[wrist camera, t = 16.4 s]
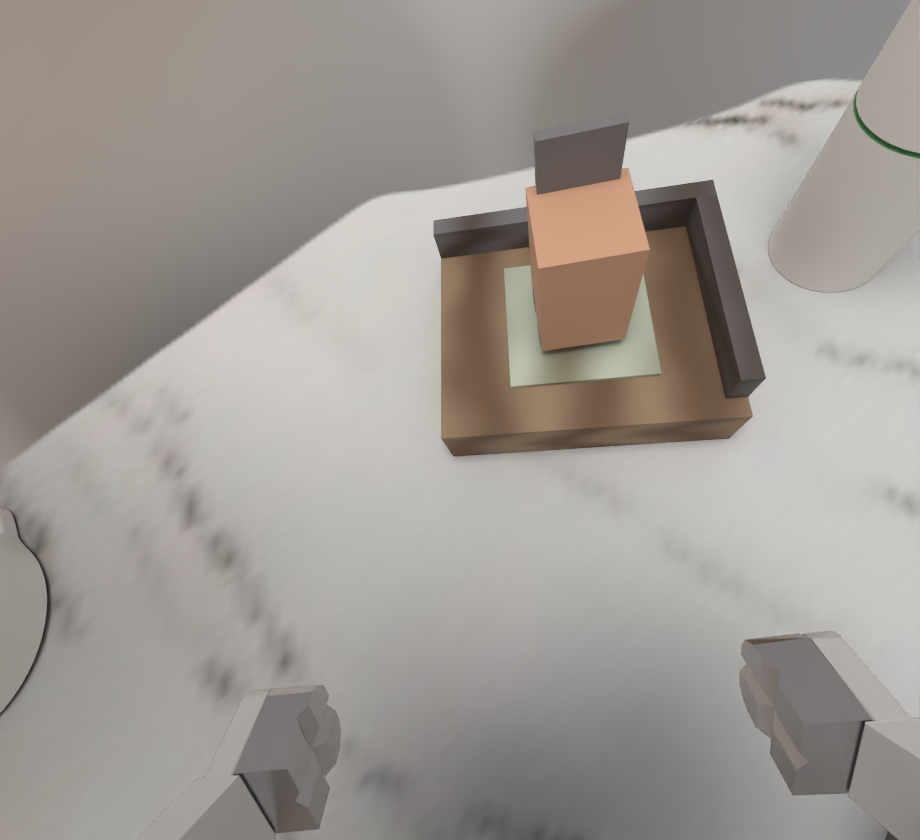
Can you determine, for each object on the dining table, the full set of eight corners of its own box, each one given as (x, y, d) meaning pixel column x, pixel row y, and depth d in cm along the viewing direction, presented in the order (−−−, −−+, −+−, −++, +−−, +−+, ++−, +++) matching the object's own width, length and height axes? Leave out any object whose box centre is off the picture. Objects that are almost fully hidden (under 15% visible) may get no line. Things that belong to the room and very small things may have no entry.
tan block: (542, 357, 30) (536, 221, 20) (532, 291, 32) (522, 134, 21) (623, 345, 30) (664, 198, 19) (608, 279, 32) (638, 109, 21)
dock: (453, 456, 34) (432, 424, 28) (451, 278, 39) (433, 220, 33) (728, 438, 31) (771, 399, 25) (686, 249, 36) (712, 179, 30)
